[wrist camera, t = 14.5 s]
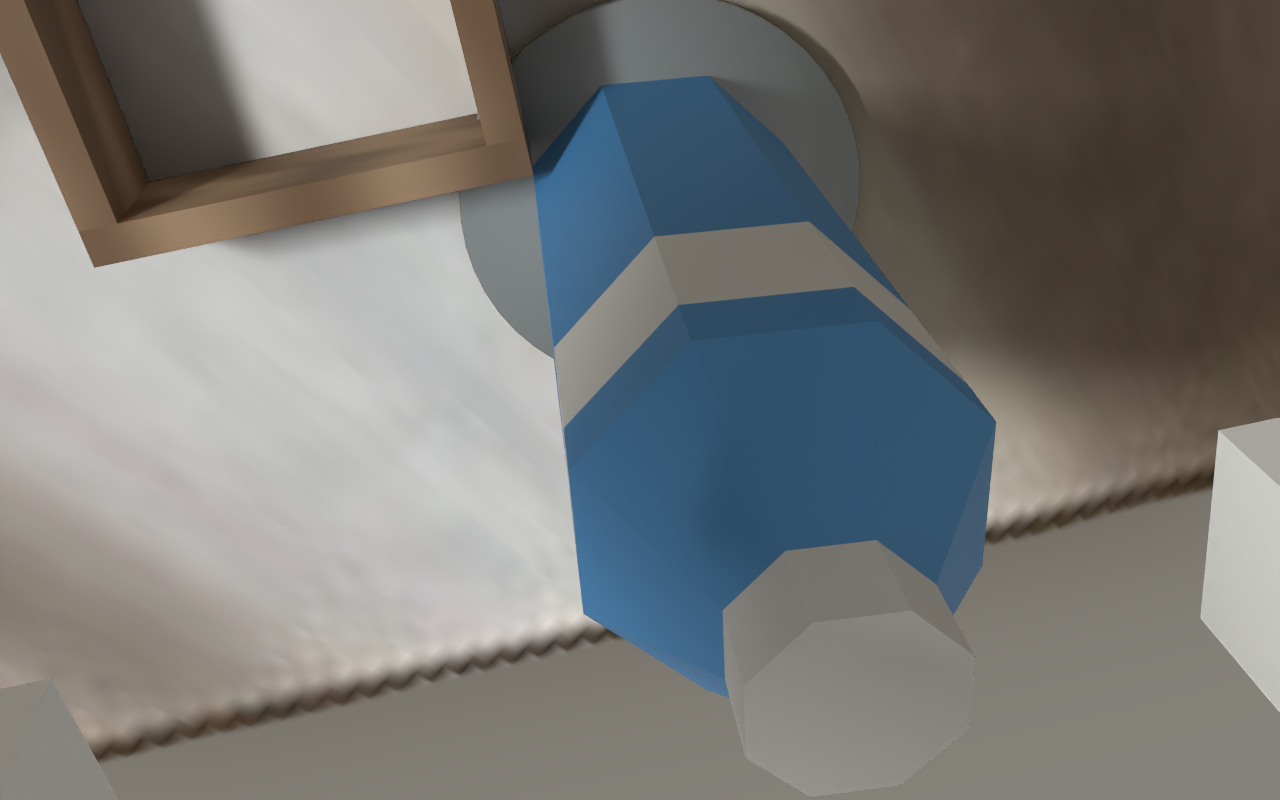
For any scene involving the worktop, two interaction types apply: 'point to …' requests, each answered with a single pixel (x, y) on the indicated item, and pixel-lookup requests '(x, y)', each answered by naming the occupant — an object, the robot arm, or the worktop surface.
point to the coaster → (634, 52)
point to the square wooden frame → (255, 190)
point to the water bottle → (759, 438)
